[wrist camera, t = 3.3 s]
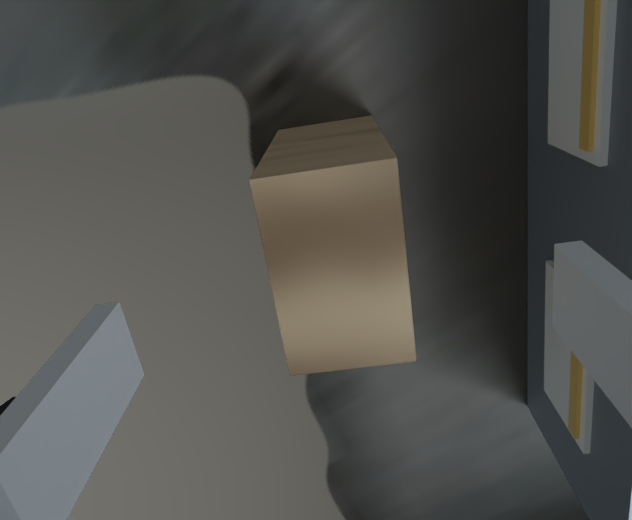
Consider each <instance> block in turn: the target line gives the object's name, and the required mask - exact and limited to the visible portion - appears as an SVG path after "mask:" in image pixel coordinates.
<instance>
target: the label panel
mask: <svg viewBox="0 0 632 520" xmlns="http://www.w3.org/2000/svg"><path fill="white" fill-rule="evenodd" d="M580 240H582V241H583V242H584V243H586V244H587V245H588V246H589V247H591V248H592V249H593V250H594V251H596V252H597V253H598V254H599V255H601V256H602V257H603V258H604V259H606V260H607V261H608V262H609V263H611V264H612V265H613V266H614V267H616V268H617V269H618V270H619V271H621V272H622V273H623V274H624V275H626V276H627V277H628V278H629V279H630V280H632V0H528V360H527V406H528V408H529V410H530V412H531V414H532V415H533V417H534V419H535V421H536V423H537V425H538V426H539V428H540V430H541V432H542V434H543V436H544V437H545V439H546V441H547V443H548V445H549V447H550V448H551V450H552V452H553V454H554V456H555V458H556V459H557V461H558V463H559V465H560V467H561V469H562V471H563V472H564V474H565V476H566V478H567V480H568V482H569V483H570V485H571V487H572V489H573V491H574V493H575V494H576V496H577V498H578V500H579V502H580V504H581V505H582V507H583V509H584V511H585V513H586V515H587V516H588V518H589V520H632V428H631V427H630V425H629V424H628V423H627V422H626V420H625V419H624V418H623V416H622V415H621V414H620V413H619V411H618V410H617V409H616V407H615V406H614V405H613V404H612V402H611V401H610V400H609V398H608V397H607V396H606V395H605V393H604V392H603V391H602V389H601V388H600V387H599V386H598V384H597V383H596V382H595V380H594V379H593V378H592V377H591V375H590V374H589V373H588V371H587V370H586V369H585V368H584V366H583V365H582V364H581V362H580V361H579V360H578V359H577V357H576V356H575V355H574V353H573V352H572V351H571V350H570V348H569V347H568V346H567V344H566V343H565V342H564V340H563V339H562V338H561V337H560V335H559V334H558V333H557V331H556V330H555V329H554V328H553V326H552V314H553V278H554V244H558V243H565V242H573V241H580Z"/></svg>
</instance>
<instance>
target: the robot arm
mask: <svg viewBox="0 0 632 520" xmlns="http://www.w3.org/2000/svg"><path fill="white" fill-rule="evenodd" d="M552 326H553V328H554V329H555V330H556V331H557V333H558V334H559V335H560V337H561V338H562V339H563V340H564V342H565V343H566V344H567V346H568V347H569V348H570V350H571V351H572V352H573V353H574V355H575V356H576V357H577V359H578V360H579V361H580V362H581V364H582V365H583V366H584V368H585V369H586V370H587V371H588V373H589V374H590V375H591V377H592V378H593V379H594V380H595V382H596V383H597V384H598V386H599V387H600V388H601V389H602V391H603V392H604V393H605V395H606V396H607V397H608V398H609V400H610V401H611V402H612V404H613V405H614V406H615V407H616V409H617V410H618V411H619V413H620V414H621V415H622V416H623V418H624V419H625V420H626V422H627V423H628V424H629V425H630V427H631V428H632V280H630V279H629V278H628V277H627V276H626V275H624V274H623V273H622V272H621V271H619V270H618V269H617V268H616V267H614V266H613V265H612V264H611V263H609V262H608V261H607V260H606V259H604V258H603V257H602V256H601V255H599V254H598V253H597V252H596V251H594V250H593V249H592V248H591V247H589V246H588V245H587V244H586V243H584V242H583V241H582V240H580V241H573V242H565V243H558V244H554V278H553V314H552ZM143 377H144V372H143V369H142V366H141V363H140V360H139V357H138V355H137V352H136V349H135V346H134V343H133V340H132V337H131V334H130V331H129V329H128V325H127V323H126V320H125V317H124V314H123V311H122V308H121V305H120V302H114V303H106V304H98V305H95V306H94V307H93V309H92V310H91V311H90V312H89V313H88V314H87V316H86V317H85V318H84V319H83V320H82V321H81V323H80V324H79V325H78V326H77V327H76V328H75V329H74V331H73V332H72V333H71V334H70V335H69V336H68V338H67V339H66V340H65V341H64V342H63V343H62V345H61V346H60V347H59V348H58V349H57V350H56V351H55V353H54V354H53V355H52V356H51V357H50V359H49V360H48V361H47V362H46V363H45V364H44V365H43V367H42V368H41V369H40V370H39V371H38V372H37V374H36V375H35V376H34V377H33V378H32V379H31V381H30V382H29V383H28V384H27V385H26V386H25V388H24V389H23V390H22V391H21V392H20V393H19V394H18V396H17V397H12V398H11V399H10V400H8V401H7V402H5V403H4V404H3V405H1V406H0V520H67V518H68V516H69V514H70V512H71V511H72V509H73V507H74V505H75V503H76V501H77V499H78V498H79V496H80V494H81V492H82V490H83V488H84V486H85V484H86V483H87V481H88V479H89V477H90V475H91V474H92V471H93V470H94V468H95V466H96V464H97V462H98V460H99V459H100V457H101V455H102V453H103V451H104V449H105V448H106V446H107V444H108V442H109V440H110V438H111V436H112V434H113V433H114V431H115V429H116V427H117V425H118V423H119V422H120V420H121V418H122V416H123V414H124V412H125V410H126V409H127V406H128V405H129V403H130V401H131V399H132V397H133V395H134V394H135V392H136V390H137V388H138V386H139V384H140V382H141V381H142V379H143Z"/></svg>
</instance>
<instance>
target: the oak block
mask: <svg viewBox="0 0 632 520" xmlns="http://www.w3.org/2000/svg"><path fill="white" fill-rule="evenodd" d="M249 182H250V186H251V191H252V196H253V201H254V206H255V210H256V215H257V220H258V225H259V230H260V235H261V240H262V244H263V249H264V254H265V259H266V263H267V268H268V273H269V278H270V283H271V288H272V292H273V297H274V302H275V306H276V311H277V316H278V321H279V326H280V331H281V335H282V340H283V345H284V350H285V355H286V359H287V364H288V368H289V374H290V376H294V375H303V374H311V373H320V372H329V371H337V370H346V369H354V368H363V367H372V366H380V365H389V364H397V363H406V362H415V361H416V350H415V340H414V329H413V319H412V308H411V298H410V287H409V277H408V266H407V256H406V246H405V235H404V225H403V214H402V204H401V193H400V183H399V172H398V162H397V157H396V155H395V153H394V152H393V150H392V148H391V147H390V145H389V143H388V142H387V140H386V138H385V136H384V135H383V133H382V131H381V130H380V128H379V126H378V125H377V123H376V121H375V120H374V118H373V116H372V115H371V116H364V117H358V118H352V119H345V120H339V121H332V122H326V123H320V124H313V125H307V126H300V127H294V128H287V129H281V130H278V132H277V133H276V135H275V137H274V139H273V140H272V142H271V144H270V145H269V147H268V149H267V150H266V152H265V154H264V155H263V157H262V159H261V160H260V162H259V164H258V166H257V167H256V169H255V171H254V172H253V174H252V176H251V177H250V179H249Z"/></svg>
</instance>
